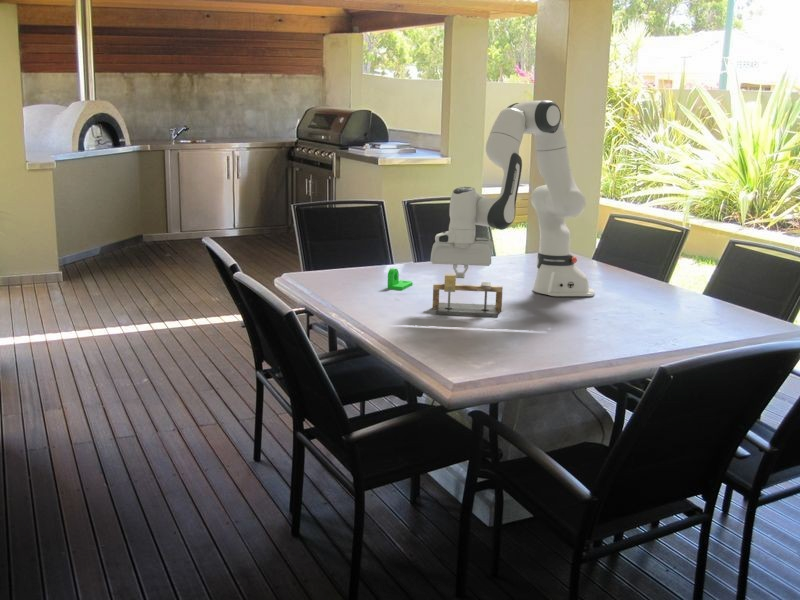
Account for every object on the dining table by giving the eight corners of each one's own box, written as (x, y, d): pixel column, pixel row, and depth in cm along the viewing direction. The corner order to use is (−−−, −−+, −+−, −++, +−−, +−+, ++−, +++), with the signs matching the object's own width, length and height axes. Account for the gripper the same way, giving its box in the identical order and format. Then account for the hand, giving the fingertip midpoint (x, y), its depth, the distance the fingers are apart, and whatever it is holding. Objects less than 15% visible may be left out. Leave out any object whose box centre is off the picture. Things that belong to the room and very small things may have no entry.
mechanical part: (402, 292, 310) (402, 270, 308) (387, 290, 312) (387, 269, 311) (414, 286, 321) (415, 266, 319) (400, 285, 323) (400, 264, 321)
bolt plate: (496, 308, 286) (496, 304, 286) (497, 317, 274) (497, 313, 273) (437, 305, 288) (437, 302, 288) (435, 314, 275) (435, 310, 275)
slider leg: (454, 303, 286) (455, 274, 283) (454, 308, 278) (455, 278, 276) (444, 302, 286) (445, 273, 284) (443, 307, 279) (444, 277, 277)
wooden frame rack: (501, 310, 284) (502, 282, 282) (501, 314, 277) (503, 286, 275) (432, 307, 286) (433, 280, 284) (431, 311, 279) (432, 283, 277)
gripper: (493, 236, 281) (491, 277, 284) (431, 234, 282) (430, 275, 285) (493, 239, 275) (491, 281, 278) (430, 236, 276) (429, 278, 279)
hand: (460, 278), depth 281 cm, fingers closed
